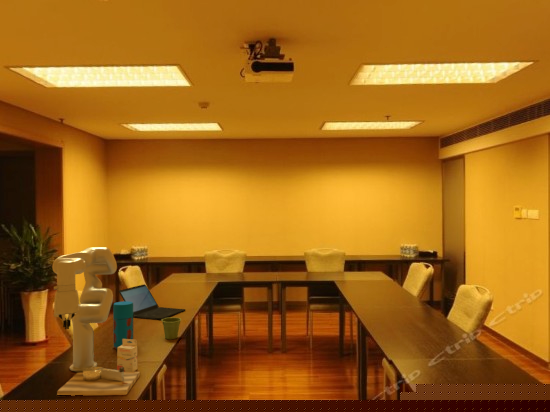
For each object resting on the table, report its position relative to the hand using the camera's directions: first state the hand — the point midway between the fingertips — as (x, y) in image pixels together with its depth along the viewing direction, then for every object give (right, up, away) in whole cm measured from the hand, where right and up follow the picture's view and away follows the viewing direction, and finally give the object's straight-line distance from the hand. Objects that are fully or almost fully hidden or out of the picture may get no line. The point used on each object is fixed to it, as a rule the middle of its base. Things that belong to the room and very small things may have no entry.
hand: (66, 328), depth 209 cm
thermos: (+7, -26, +56) cm, 62 cm away
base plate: (+16, -25, -2) cm, 30 cm away
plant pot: (+31, -26, +74) cm, 84 cm away
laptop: (+2, -26, +139) cm, 142 cm away
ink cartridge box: (+22, -25, +17) cm, 38 cm away
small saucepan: (+17, -23, 0) cm, 28 cm away
